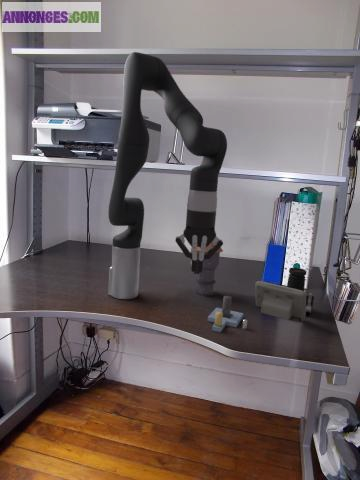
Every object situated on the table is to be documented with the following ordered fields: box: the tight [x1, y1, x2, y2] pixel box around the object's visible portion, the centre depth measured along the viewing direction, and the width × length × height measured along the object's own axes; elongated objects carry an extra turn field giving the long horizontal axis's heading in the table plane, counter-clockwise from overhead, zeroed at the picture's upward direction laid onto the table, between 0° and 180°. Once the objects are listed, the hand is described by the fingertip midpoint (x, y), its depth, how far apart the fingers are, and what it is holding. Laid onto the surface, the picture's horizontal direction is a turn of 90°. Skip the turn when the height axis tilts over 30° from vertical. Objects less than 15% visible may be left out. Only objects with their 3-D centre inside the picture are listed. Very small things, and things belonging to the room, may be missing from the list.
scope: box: [286, 267, 315, 317], centre depth 122 cm, size 8×14×10 cm
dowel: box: [241, 318, 248, 330], centre depth 103 cm, size 1×1×3 cm
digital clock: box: [254, 280, 307, 322], centre depth 116 cm, size 16×9×11 cm, turn 46°
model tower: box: [190, 240, 224, 297], centre depth 127 cm, size 10×11×30 cm
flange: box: [207, 307, 244, 333], centre depth 106 cm, size 14×8×5 cm, turn 158°
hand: (196, 273), depth 98 cm, fingers closed
